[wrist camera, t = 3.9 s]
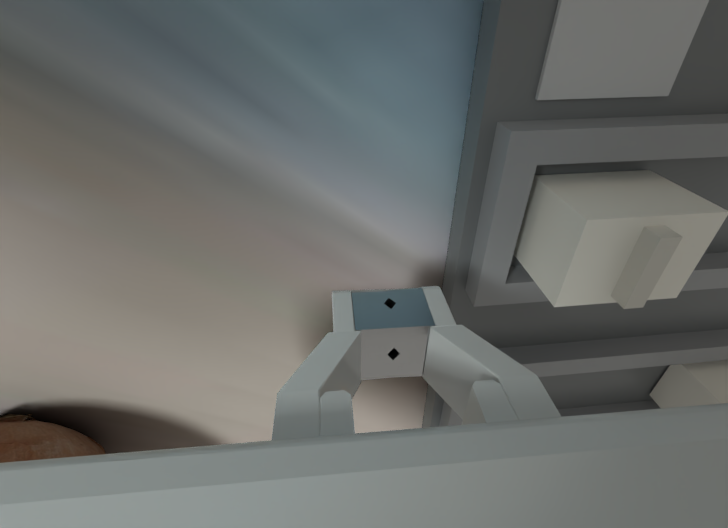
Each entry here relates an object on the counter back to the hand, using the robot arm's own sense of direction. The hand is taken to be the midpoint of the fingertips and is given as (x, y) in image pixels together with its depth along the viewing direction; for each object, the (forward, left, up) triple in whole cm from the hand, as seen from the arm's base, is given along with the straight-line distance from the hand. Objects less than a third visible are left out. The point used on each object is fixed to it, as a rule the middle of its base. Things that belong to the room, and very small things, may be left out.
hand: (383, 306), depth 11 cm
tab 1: (-1, +7, -3) cm, 8 cm away
